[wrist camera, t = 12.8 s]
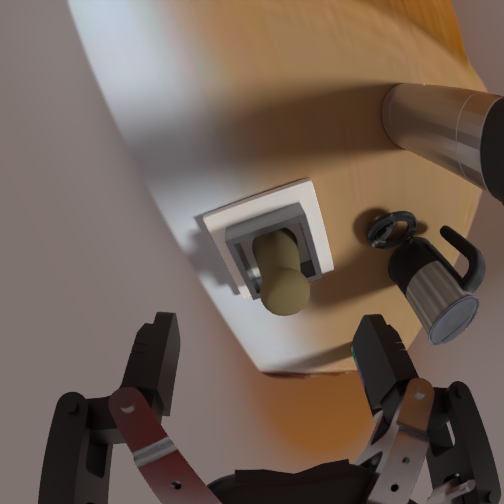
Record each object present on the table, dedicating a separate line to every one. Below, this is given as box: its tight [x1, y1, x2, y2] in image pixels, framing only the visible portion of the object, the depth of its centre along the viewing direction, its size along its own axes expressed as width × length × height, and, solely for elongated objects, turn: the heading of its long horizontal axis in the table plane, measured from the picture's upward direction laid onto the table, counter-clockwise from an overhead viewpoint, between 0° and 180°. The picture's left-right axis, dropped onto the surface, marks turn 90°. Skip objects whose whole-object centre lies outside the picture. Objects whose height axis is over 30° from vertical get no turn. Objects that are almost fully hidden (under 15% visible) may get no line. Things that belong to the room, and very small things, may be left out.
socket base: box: [203, 177, 334, 299], centre depth 37 cm, size 14×14×1 cm
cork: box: [252, 227, 310, 316], centre depth 31 cm, size 6×6×11 cm
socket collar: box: [225, 202, 323, 300], centre depth 35 cm, size 10×10×4 cm
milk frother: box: [366, 211, 486, 345], centre depth 32 cm, size 14×16×15 cm
